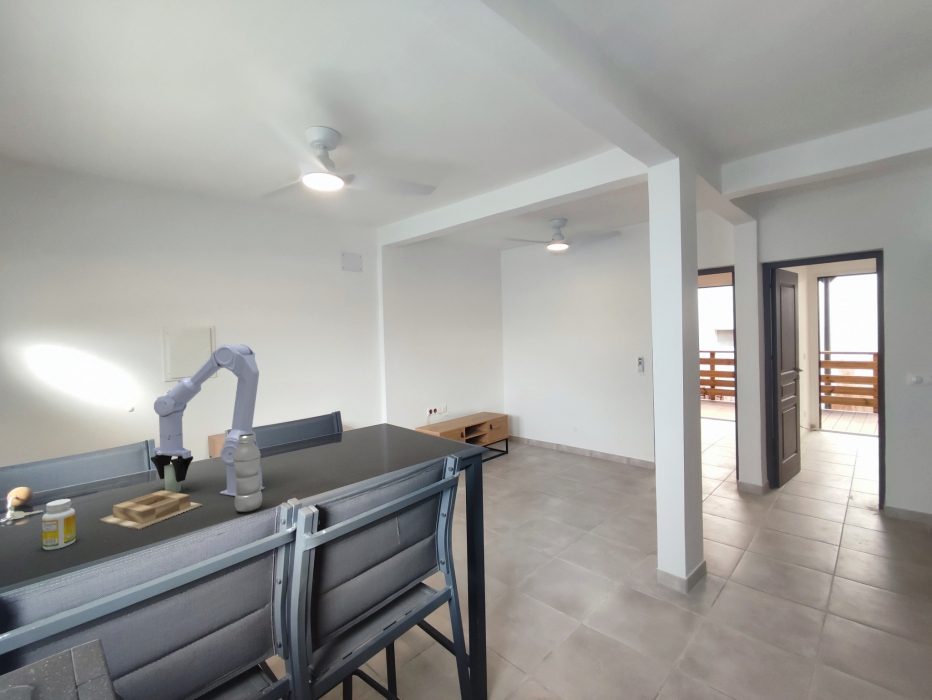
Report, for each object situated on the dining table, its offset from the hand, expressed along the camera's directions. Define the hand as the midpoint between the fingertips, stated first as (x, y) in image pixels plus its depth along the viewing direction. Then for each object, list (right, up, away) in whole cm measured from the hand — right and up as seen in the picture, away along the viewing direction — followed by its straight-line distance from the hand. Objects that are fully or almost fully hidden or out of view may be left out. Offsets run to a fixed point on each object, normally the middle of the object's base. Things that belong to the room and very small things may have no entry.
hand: (172, 479), depth 128 cm
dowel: (0, -4, 0) cm, 4 cm away
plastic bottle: (+31, -3, -16) cm, 35 cm away
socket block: (+6, -4, -17) cm, 18 cm away
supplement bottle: (-2, -4, -34) cm, 34 cm away
